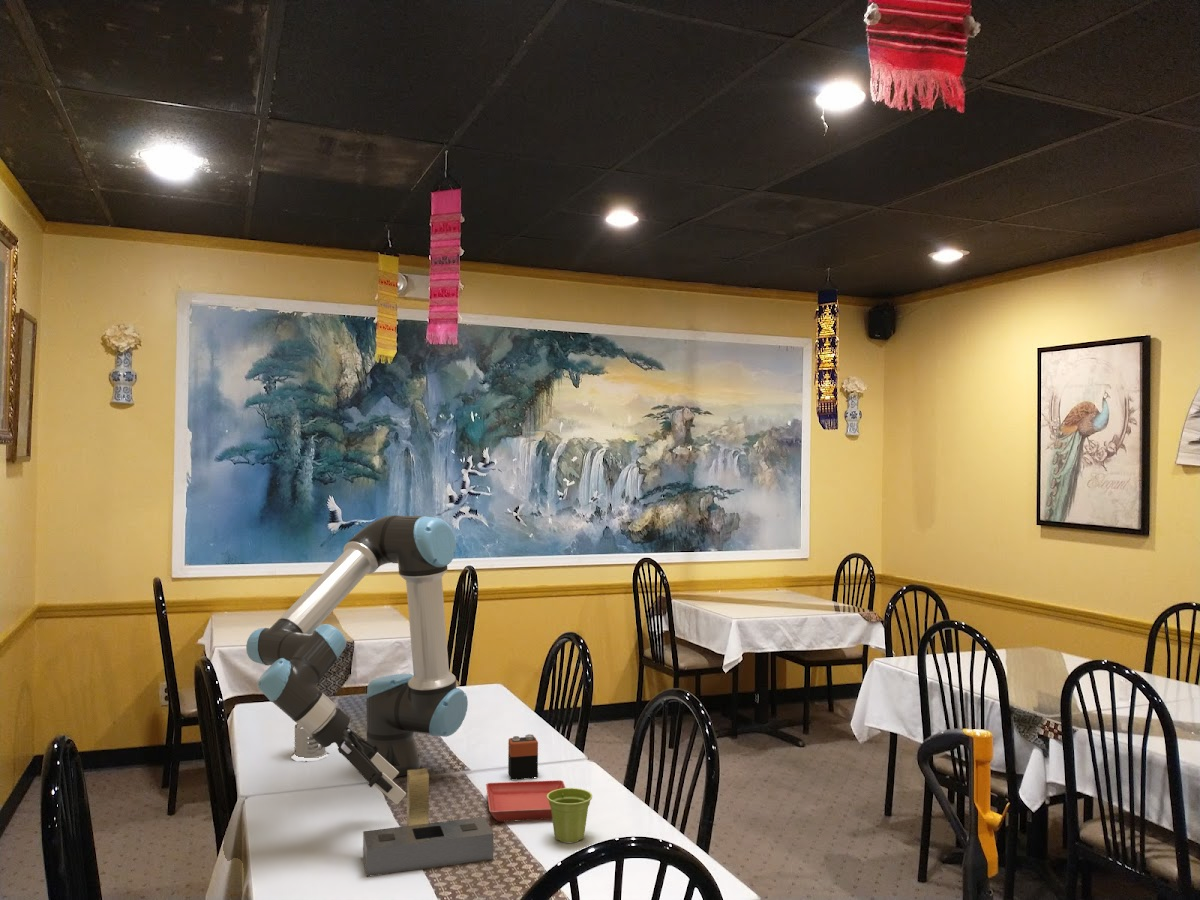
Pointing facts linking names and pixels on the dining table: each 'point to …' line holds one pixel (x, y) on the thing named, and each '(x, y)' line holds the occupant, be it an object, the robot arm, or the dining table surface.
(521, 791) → the plant saucer
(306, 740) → the french press
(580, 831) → the plant pot
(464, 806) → the dining table surface
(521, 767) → the battery
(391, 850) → the gray socket block
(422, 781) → the brass post
